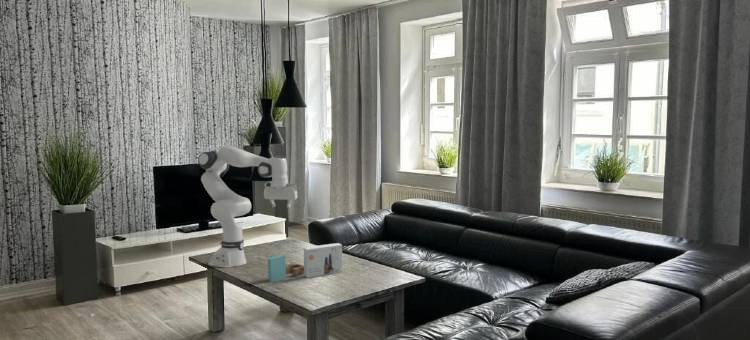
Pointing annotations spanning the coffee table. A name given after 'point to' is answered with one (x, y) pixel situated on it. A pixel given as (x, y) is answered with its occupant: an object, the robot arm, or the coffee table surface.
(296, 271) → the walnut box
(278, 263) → the teal rectangular block
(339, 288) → the coffee table surface
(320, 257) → the skincare box
